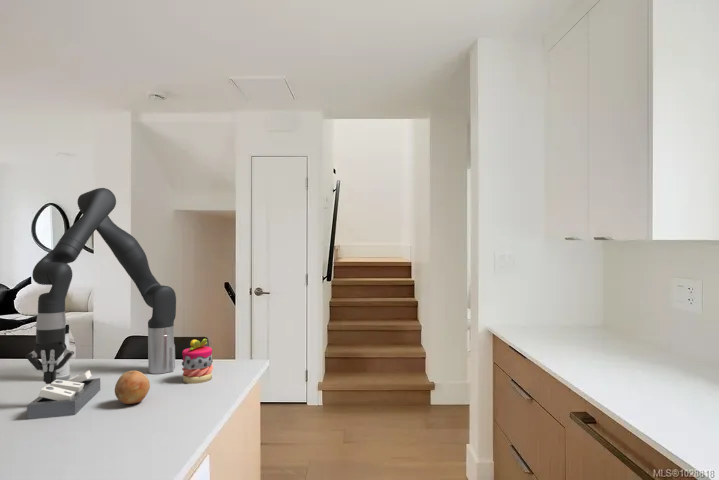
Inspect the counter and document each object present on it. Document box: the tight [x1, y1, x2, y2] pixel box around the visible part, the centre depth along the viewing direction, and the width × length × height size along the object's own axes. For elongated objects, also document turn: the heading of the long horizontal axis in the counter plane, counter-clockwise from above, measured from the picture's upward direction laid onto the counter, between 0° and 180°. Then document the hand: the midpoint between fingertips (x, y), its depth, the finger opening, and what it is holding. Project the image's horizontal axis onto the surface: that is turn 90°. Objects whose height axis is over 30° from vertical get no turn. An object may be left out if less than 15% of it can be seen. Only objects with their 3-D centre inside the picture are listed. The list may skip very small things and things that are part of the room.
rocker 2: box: [64, 369, 93, 383], centre depth 150 cm, size 8×4×2 cm, turn 105°
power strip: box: [26, 377, 101, 420], centre depth 146 cm, size 12×33×4 cm, turn 14°
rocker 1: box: [38, 384, 76, 401], centre depth 135 cm, size 8×4×2 cm, turn 104°
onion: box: [114, 370, 151, 405], centre depth 141 cm, size 10×10×10 cm
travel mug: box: [55, 324, 71, 380], centre depth 170 cm, size 6×7×20 cm
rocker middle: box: [49, 379, 84, 392], centre depth 142 cm, size 8×4×2 cm, turn 104°
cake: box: [181, 338, 214, 385], centre depth 166 cm, size 10×11×15 cm
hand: (49, 383), depth 141 cm, fingers closed
